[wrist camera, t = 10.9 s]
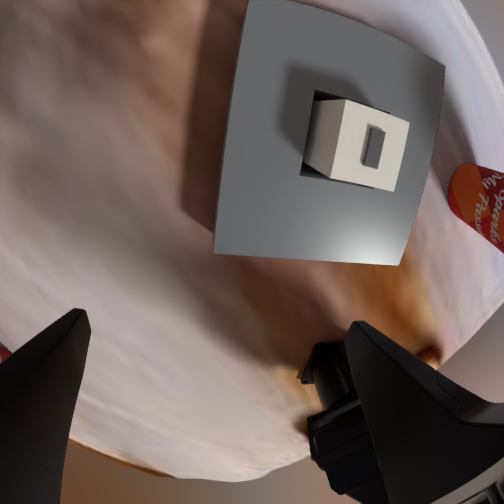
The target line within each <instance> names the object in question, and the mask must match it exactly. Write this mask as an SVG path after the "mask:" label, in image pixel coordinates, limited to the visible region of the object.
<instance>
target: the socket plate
mask: <svg viewBox="0 0 504 504" xmlns="http://www.w3.org/2000/svg"><path fill="white" fill-rule="evenodd" d="M444 78H445V66H444V65H443V64H441V63H439V62H438V61H436V60H434V59H433V58H431V57H429V56H428V55H426V54H424V53H423V52H421V51H419V50H417V49H415V48H414V47H412V46H410V45H408V44H406V43H404V42H402V41H400V40H398V39H396V38H394V37H392V36H390V35H388V34H386V33H383V32H381V31H379V30H377V29H374V28H372V27H370V26H367V25H365V24H362V23H360V22H357V21H355V20H352V19H349V18H347V17H344V16H341V15H338V14H335V13H332V12H329V11H326V10H322V9H319V8H316V7H312V6H309V5H305V4H301V3H297V2H293V1H289V0H248V1H247V4H246V7H245V10H244V16H243V21H242V26H241V32H240V37H239V43H238V48H237V54H236V60H235V66H234V72H233V79H232V85H231V92H230V98H229V105H228V112H227V119H226V126H225V134H224V141H223V149H222V157H221V165H220V174H219V182H218V191H217V201H216V210H215V220H214V230H213V254H227V255H243V256H258V257H273V258H288V259H304V260H320V261H335V262H351V263H368V264H384V265H399V263H400V260H401V258H402V255H403V252H404V250H405V247H406V244H407V241H408V238H409V235H410V233H411V230H412V227H413V223H414V220H415V217H416V214H417V211H418V208H419V204H420V201H421V197H422V194H423V190H424V187H425V183H426V179H427V175H428V171H429V167H430V163H431V158H432V154H433V149H434V144H435V139H436V134H437V129H438V123H439V117H440V110H441V104H442V96H443V88H444ZM314 96H317V97H321V98H325V99H329V100H345V99H346V100H349V101H352V102H356V103H359V104H362V105H365V106H367V107H370V108H373V109H376V110H379V111H381V112H384V113H387V114H389V115H392V116H395V117H397V118H399V119H402V120H404V121H407V122H409V123H410V124H409V129H408V134H407V139H406V144H405V148H404V153H403V157H402V161H401V166H400V170H399V174H398V178H397V181H396V185H395V189H394V192H392V191H388V190H384V189H380V188H375V187H371V186H366V185H362V184H357V183H352V182H348V181H343V180H338V179H332V178H329V177H328V176H326V175H324V174H323V173H321V172H319V171H315V170H309V169H303V168H301V165H302V160H303V154H304V149H305V143H306V138H307V132H308V126H309V121H310V115H311V109H312V103H313V97H314Z"/></svg>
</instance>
